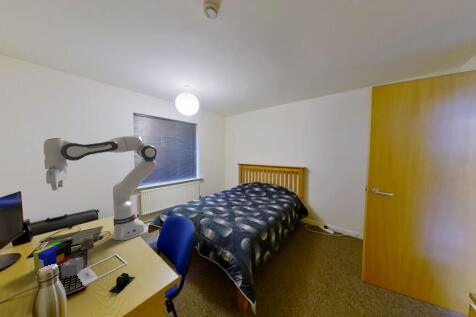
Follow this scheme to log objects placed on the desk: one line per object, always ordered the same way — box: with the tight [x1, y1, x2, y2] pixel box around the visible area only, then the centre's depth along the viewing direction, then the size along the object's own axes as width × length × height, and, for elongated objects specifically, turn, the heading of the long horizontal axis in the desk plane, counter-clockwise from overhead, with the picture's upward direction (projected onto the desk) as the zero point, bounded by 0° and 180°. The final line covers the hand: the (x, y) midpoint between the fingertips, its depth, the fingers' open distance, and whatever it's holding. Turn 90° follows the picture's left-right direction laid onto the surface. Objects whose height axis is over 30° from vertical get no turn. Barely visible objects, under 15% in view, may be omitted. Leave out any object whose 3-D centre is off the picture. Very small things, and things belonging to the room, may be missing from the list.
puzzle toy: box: [32, 241, 73, 272], centre depth 90 cm, size 10×10×10 cm
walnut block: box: [79, 234, 95, 251], centre depth 107 cm, size 6×6×6 cm
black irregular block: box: [108, 272, 137, 295], centre depth 77 cm, size 12×7×5 cm, turn 168°
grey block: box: [60, 256, 85, 278], centre depth 84 cm, size 6×6×6 cm
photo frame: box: [76, 253, 128, 287], centre depth 87 cm, size 15×1×18 cm
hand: (57, 188), depth 98 cm, fingers open, 8 cm apart
